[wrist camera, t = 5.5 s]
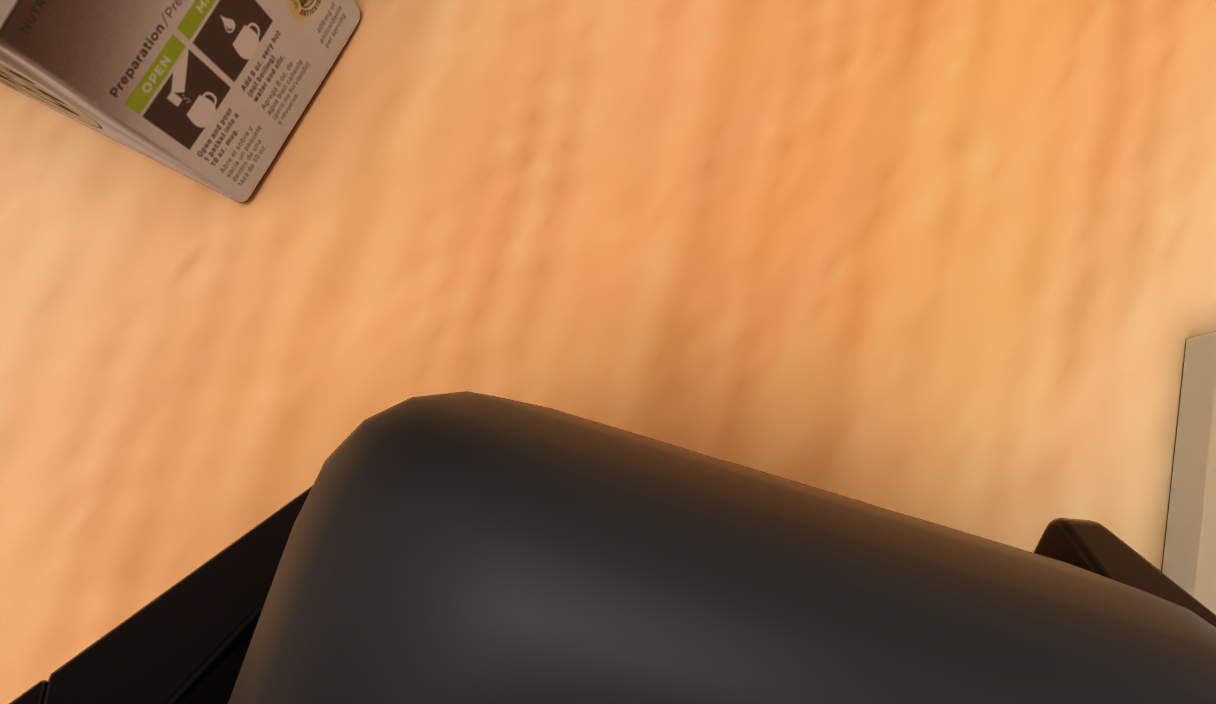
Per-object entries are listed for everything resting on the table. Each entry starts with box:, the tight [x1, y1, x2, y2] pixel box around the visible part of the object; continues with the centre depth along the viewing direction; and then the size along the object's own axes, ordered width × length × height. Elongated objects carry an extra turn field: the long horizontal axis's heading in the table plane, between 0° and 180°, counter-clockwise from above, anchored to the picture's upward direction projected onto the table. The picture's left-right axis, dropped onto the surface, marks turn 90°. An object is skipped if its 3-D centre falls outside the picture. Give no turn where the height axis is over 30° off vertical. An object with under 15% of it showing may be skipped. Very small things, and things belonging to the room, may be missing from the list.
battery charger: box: [228, 391, 1216, 704], centre depth 9 cm, size 7×4×11 cm, turn 73°
